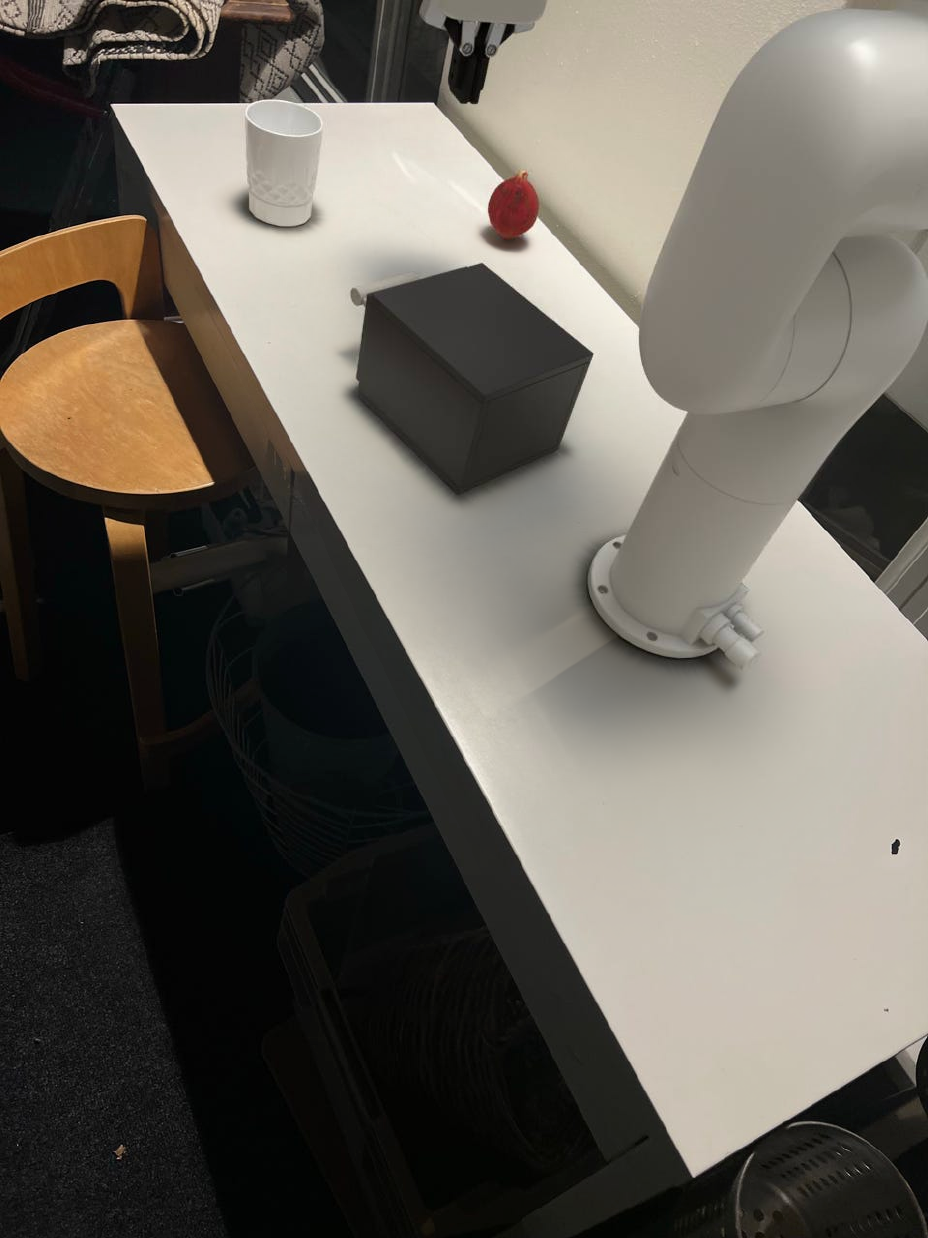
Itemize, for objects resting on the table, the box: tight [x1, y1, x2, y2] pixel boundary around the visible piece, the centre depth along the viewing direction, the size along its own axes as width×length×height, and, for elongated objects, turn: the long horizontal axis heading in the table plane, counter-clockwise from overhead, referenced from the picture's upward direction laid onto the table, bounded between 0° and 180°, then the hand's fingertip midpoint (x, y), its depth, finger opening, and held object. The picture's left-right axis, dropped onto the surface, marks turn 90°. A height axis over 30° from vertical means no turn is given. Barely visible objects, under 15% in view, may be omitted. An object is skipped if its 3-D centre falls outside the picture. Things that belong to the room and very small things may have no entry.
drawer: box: [349, 265, 468, 382], centre depth 81 cm, size 18×11×9 cm, turn 41°
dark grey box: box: [356, 262, 594, 495], centre depth 79 cm, size 15×13×11 cm
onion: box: [487, 169, 540, 240], centre depth 103 cm, size 6×6×8 cm
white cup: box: [244, 99, 324, 227], centre depth 96 cm, size 8×8×10 cm
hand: (463, 96), depth 83 cm, fingers closed
